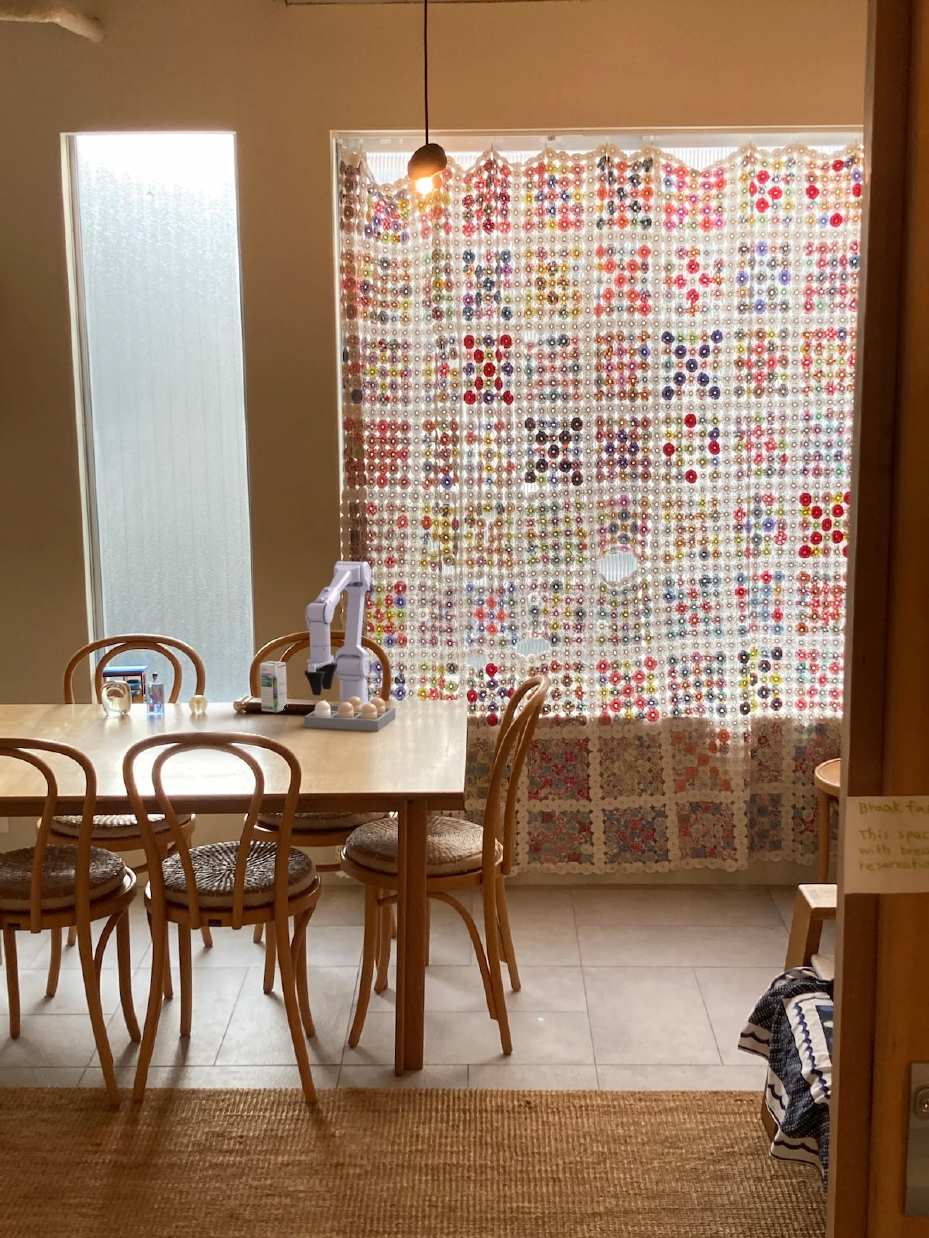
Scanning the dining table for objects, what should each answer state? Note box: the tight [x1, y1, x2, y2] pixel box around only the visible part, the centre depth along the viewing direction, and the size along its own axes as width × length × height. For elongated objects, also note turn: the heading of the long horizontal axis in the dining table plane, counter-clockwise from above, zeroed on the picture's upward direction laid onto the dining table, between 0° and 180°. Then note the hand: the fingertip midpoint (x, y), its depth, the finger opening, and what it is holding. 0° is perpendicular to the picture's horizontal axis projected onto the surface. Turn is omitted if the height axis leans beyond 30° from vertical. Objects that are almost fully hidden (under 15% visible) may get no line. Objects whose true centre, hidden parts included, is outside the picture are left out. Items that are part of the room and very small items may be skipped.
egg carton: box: [304, 696, 396, 732], centre depth 331 cm, size 15×22×7 cm
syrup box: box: [259, 660, 288, 713], centre depth 347 cm, size 6×6×14 cm
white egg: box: [314, 700, 331, 717], centre depth 329 cm, size 4×4×6 cm
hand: (322, 691), depth 329 cm, fingers open, 7 cm apart
